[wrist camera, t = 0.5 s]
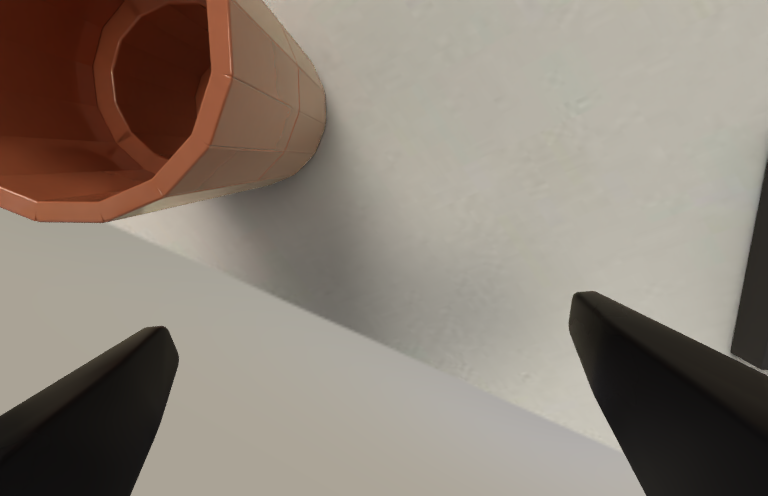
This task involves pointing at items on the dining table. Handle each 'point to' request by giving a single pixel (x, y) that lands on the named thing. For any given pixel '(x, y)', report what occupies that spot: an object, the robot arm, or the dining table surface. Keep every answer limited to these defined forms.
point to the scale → (755, 294)
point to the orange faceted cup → (148, 105)
